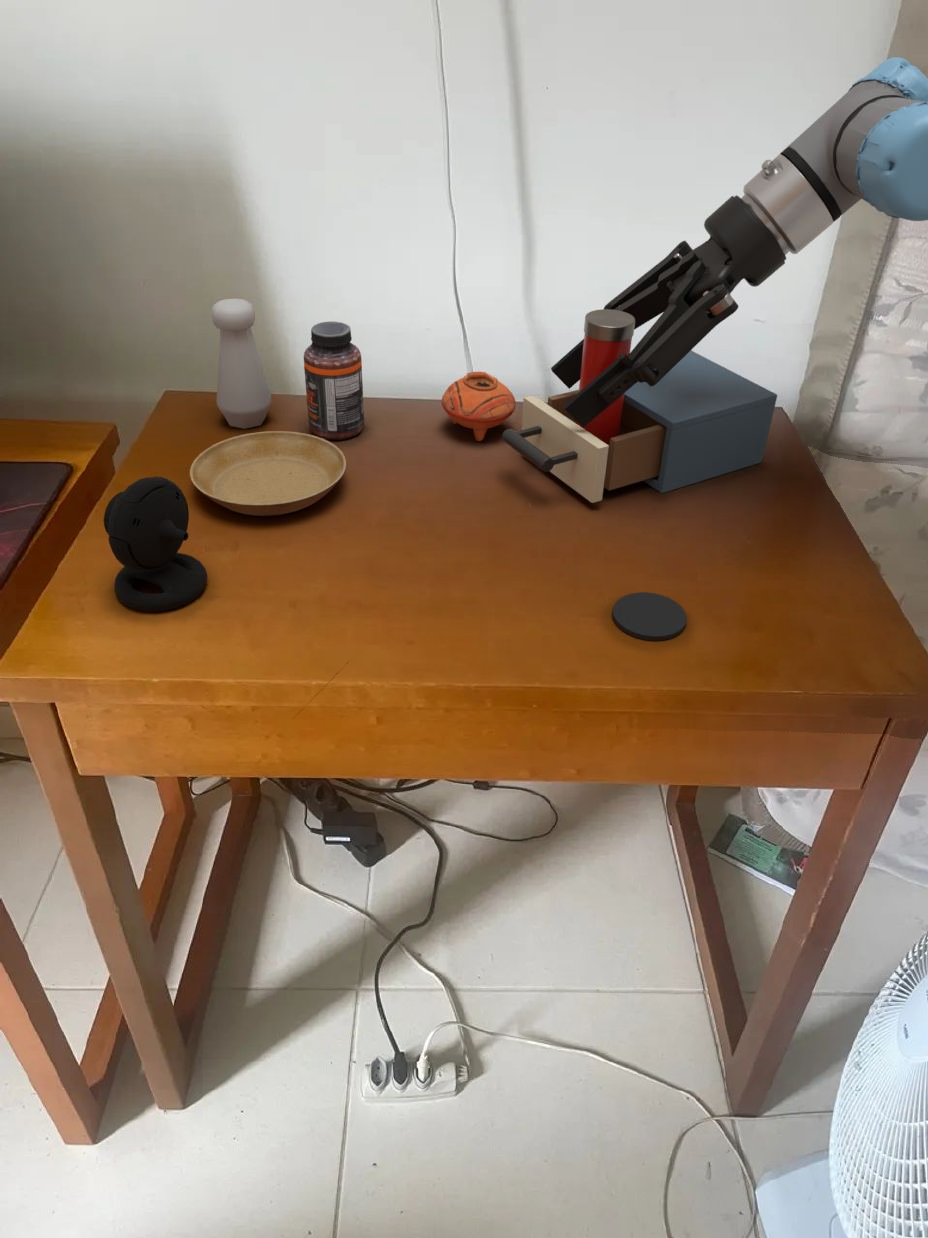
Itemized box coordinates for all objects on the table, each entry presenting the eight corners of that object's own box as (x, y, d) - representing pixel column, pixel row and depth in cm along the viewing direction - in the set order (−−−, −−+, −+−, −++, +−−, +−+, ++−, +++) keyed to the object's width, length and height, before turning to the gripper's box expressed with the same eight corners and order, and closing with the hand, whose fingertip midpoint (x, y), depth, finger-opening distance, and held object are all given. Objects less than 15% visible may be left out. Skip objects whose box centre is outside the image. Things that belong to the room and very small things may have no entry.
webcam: (159, 552, 86) (139, 450, 80) (227, 576, 84) (211, 472, 78) (94, 598, 81) (67, 491, 75) (165, 625, 78) (143, 517, 72)
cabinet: (661, 493, 97) (673, 423, 92) (579, 437, 106) (586, 371, 101) (762, 462, 103) (777, 394, 98) (676, 412, 112) (687, 347, 107)
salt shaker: (279, 411, 109) (268, 294, 102) (264, 434, 105) (251, 314, 97) (228, 406, 110) (213, 290, 102) (211, 429, 105) (194, 310, 97)
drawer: (555, 514, 91) (561, 458, 88) (485, 458, 100) (487, 405, 96) (692, 472, 98) (701, 419, 95) (615, 424, 107) (622, 373, 103)
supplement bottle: (301, 422, 107) (293, 321, 100) (353, 413, 109) (348, 313, 102) (319, 446, 103) (311, 341, 96) (372, 436, 105) (368, 333, 98)
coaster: (692, 606, 82) (693, 601, 82) (678, 648, 77) (678, 643, 77) (621, 590, 84) (622, 585, 83) (604, 630, 79) (604, 625, 79)
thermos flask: (622, 448, 100) (640, 313, 91) (610, 468, 96) (628, 330, 88) (578, 440, 101) (592, 306, 93) (565, 459, 98) (579, 322, 89)
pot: (483, 403, 111) (495, 352, 106) (520, 445, 107) (535, 394, 103) (423, 416, 108) (432, 364, 103) (458, 460, 104) (470, 408, 99)
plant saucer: (171, 522, 90) (166, 497, 89) (220, 448, 102) (217, 425, 100) (328, 535, 89) (326, 510, 88) (360, 458, 101) (359, 435, 99)
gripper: (708, 163, 93) (528, 330, 101) (779, 227, 76) (556, 419, 85) (752, 222, 96) (574, 378, 105) (829, 295, 80) (610, 473, 88)
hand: (566, 396), depth 95 cm, fingers open, 8 cm apart
